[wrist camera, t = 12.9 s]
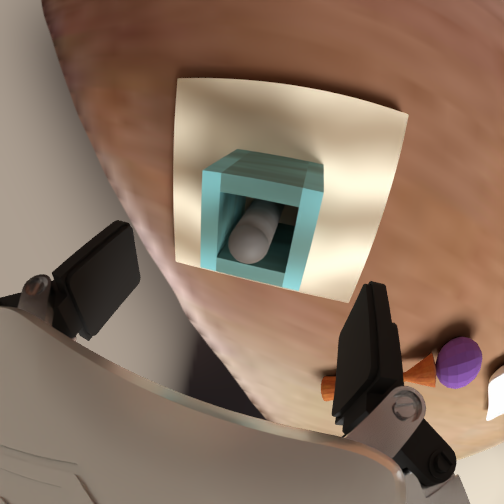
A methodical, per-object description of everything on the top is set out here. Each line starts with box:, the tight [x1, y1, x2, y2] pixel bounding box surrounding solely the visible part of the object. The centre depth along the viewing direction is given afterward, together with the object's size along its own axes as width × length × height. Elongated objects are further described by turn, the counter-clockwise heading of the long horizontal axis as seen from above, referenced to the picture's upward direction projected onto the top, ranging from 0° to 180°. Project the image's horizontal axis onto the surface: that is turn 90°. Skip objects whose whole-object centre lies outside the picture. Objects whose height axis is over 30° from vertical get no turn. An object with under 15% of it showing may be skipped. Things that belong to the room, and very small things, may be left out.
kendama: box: [321, 337, 482, 401], centre depth 25 cm, size 6×6×20 cm
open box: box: [200, 149, 324, 291], centre depth 17 cm, size 6×6×6 cm
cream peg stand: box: [173, 78, 408, 303], centre depth 17 cm, size 16×16×10 cm
